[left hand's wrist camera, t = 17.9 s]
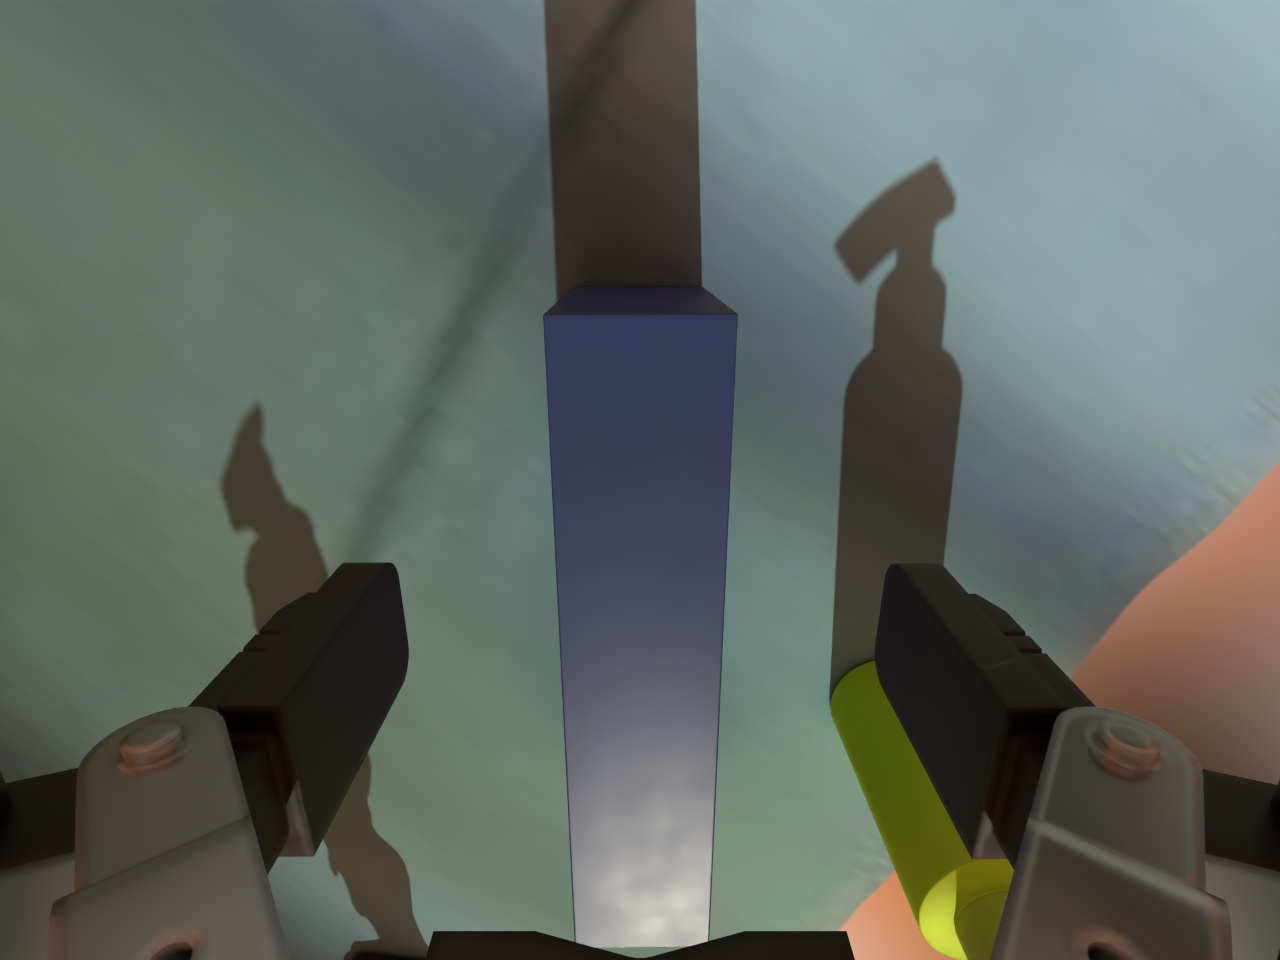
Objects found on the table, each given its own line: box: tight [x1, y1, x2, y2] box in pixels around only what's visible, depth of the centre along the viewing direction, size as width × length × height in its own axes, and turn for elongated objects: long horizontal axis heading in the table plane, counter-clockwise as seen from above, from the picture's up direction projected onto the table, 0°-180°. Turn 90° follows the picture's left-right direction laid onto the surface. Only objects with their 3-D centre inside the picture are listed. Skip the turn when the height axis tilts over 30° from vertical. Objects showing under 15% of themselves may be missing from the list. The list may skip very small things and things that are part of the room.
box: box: [543, 286, 738, 948], centre depth 31 cm, size 28×6×11 cm, turn 0°
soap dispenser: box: [831, 661, 1014, 960], centre depth 30 cm, size 6×7×20 cm
